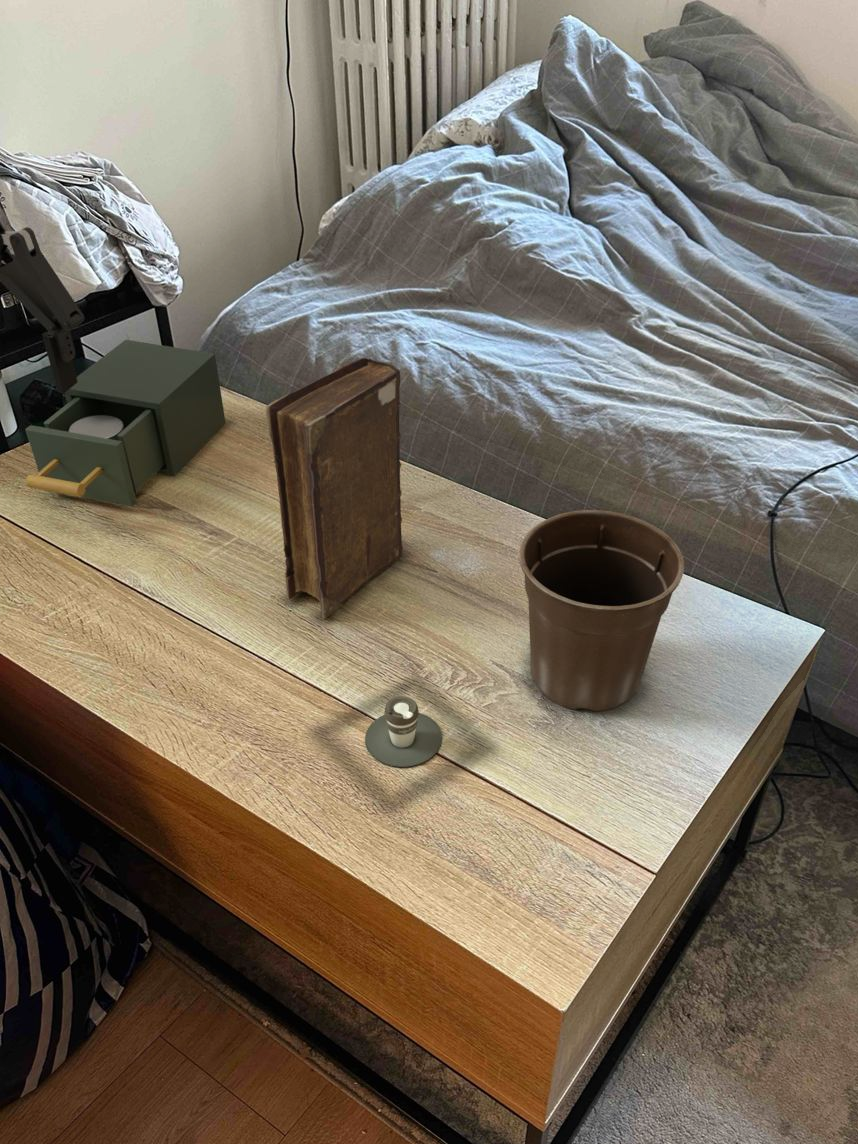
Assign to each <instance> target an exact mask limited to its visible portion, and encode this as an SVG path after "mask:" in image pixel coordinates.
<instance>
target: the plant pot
mask: <svg viewBox="0 0 858 1144" xmlns="http://www.w3.org/2000/svg"><path fill="white" fill-rule="evenodd" d="M518 553H519V554H518V559H519V560H518V561H519V564H520V569H521V570H522V573H523V574H524V589H525V594H526V596H527V598H528V616H529V617H528V621H529V623H528V624H529V625H528V626H529V653H530V655H529V657H530V660H529V664H530V675H531V678H532V681H533V683H534V684H535V686H536V687H537V689H538V690H539V691H540V692H541V693H542V694H543V695H544V696H545V697H546V698H548V699H549V700H551V701H552V702H554V703H556V704H557V705H559V706H561V707H564V708H567V709H571V710H574V711H575V710H579V709H585V710H590V711H592V712H602V711H607V710H612V709H614V708H617V707H619V706H621V705H623V704H624V703H626V702H628V701H629V700H631V698H632V697H634V696H635V695H636V693H637V691H638V689H639V688H640V686H641V683H642V679H643V676H644V673H645V669H646V666H647V664H648V660H649V656H650V653H651V650H652V647H653V643H654V640H655V638H656V634H657V631H658V629H659V625H660V622H661V619H662V616H663V615H664V613H665V612H666V611H667V609H668V607H669V605H670V602H671V598H672V595H673V592H675V590H677V588H678V587H679V585H680V583H681V581H682V578H683V576H684V572H685V561H684V560H685V559H684V557H683V554H682V552H681V550H680V548H679V546H678V545H677V544H676V542H675V541H674V540H673V539H672V538H671V537H670V536H669V535H668V534H667V533H666V532H665V531H663V530H662V529H661V528H658V527H657V526H655V525H653V524H651V523H649V522H647V521H645V520H643V519H641V518H638V517H635V516H631V515H628V514H623V513H621V512H615V511H609V510H600V509H582V510H574V511H568V512H564V513H560V514H557V515H554V516H551V517H549V518H545V520H542V521H541V522H539V523H537V524H536V525H534V526H533V527H532V528H530V530H529V531H528V532H527V533H526V534H525V536H524V537H523V539H522V541H521V543H520V546H519V551H518Z"/></svg>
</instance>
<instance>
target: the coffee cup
mask: <svg viewBox="0 0 858 1144" xmlns="http://www.w3.org/2000/svg"><path fill="white" fill-rule="evenodd" d="M364 742H365V746H366V749H367V751H368V752H369V754H370V755H371V756H372V757H373V758H375V760H377V762H379V763H381V764H384V765H386V766H390V767H395V768H407V767H414V766H417V765H421V764H423V763H425V762H428V761H429V760H431V759H432V758H433V757H434V756H435V755H436V754H437V753H438V751H440V748H441V745H442V742H443V733H442V730H441V728H440V726H439V725H438V723H437V722H436V721H435V720H434V719H433V718H431V717H430V716H429V715H427V714H424V713H422V712H419V707H418V703H417V702H416V701H415V700H414V698H411V697H409V696H405V695H399V696H394V697H392V698H391V699H389V700H388V701H387V702H386V704H385V706H384V712H383V715H381V716H379V717H378V718H376V719H375V720H374V721H373V722H371V724H370V725H369V727H368V728H367V730H366V733H365V737H364Z"/></svg>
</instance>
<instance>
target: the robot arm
mask: <svg viewBox="0 0 858 1144" xmlns="http://www.w3.org/2000/svg"><path fill="white" fill-rule="evenodd" d="M8 247H9V248H8ZM2 262H3V263H4V264H5V265H3V266H1V265H2ZM0 283H1V284H2V285H3V286H4V287H5V288H6V289H7V290H8V291H9V292H10V293H11V295H13V296H14V297H15V298H16V299H17V301H19V302H20V303H21V304H22V306H24V308H25V309H26V310H27V311H28V312H29V313H30V314H31V315H32V316H33V317H34V318H35V319H36V320H37V322H39V323H40V324H41V325H42V326H43V327H44V328H45V329H46V331H45V332H43V333H42V334H41V336H42V341H43V344H44V348H45V351H46V354H47V358H48V361H49V365H50V369H51V373H52V376H53V379H54V383H55V386H56V390H57V393H60V394H64V393H65V392H66V391H68V390H69V389H70V388H71V387H73V386H74V385H75V384H76V383H78V382H77V378H76V377H77V375H76V372H75V367H74V364H73V359H75V357H76V350H75V345H74V341H73V338H72V337H73V336H72V334H71V331H72V330H73V329H75V328H76V327H78V326H79V325H80V324H82V323H83V322H84V321H85V319H86V318H85V315H84V313H83V311H82V310H81V309H80V307H79V305H78V304H77V303H76V302H75V300H74V298H73V297H72V296H71V294H70V293H69V291H68V289H67V288H66V286H65V285H64V283H63V282H62V280H61V279H60V278H59V276H58V274H57V273H56V272H55V270H54V268H53V267H52V265H51V264H50V263H49V261H48V260H47V258H46V256H45V255H44V253H43V251H41V248H40V245H39V242H38V239H37V236H36V234H35V232H34V230H33V229H32V228H31V227H28V226H26V227H23V228H21V229H19V230H7V229H6V227H4V225H3V224H2V221H1V220H0Z"/></svg>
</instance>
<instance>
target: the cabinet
mask: <svg viewBox="0 0 858 1144" xmlns="http://www.w3.org/2000/svg"><path fill="white" fill-rule="evenodd" d="M76 378H77V382H78V383H76V384H75V385H74V386H73V387H71V388H70V389H69V390H68V391H66V392H65V393H63V394H64V396H65V400H66V405H67V404H68V403H69V402H70V401H72V400H73V399H74V398H75V397H77V396H80V397H86V398H92V399H98V400H104V401H110V402H115V403H121V404H127V405H133V406H139V407H145V408H151V409H155V414H156V419H157V424H158V428H159V433H160V438H161V443H162V447H163V452H164V457H165V461H166V464H165V465H164V466H163V467H162V468H161V469H160V470H159V471H158V472H157V473H156V474H158V475H163V476H168V477H175V476H176V475H178V473H180V471H181V470H182V469H183V468H185V466H186V465H187V464H188V463H189V462H190V461H191V460H192V459H193V458H194V457H195V456H196V455H197V454H198V453H199V452H200V450H202V448H203V447H204V446H205V445H206V444H208V443H209V441H210V440H212V438H214V436H216V434H217V433H218V432H219V431H220V430H221V429H222V428H223V427H224V426H225V425H226V423H227V422H226V415H225V409H224V408H225V407H224V403H223V397H222V390H221V385H220V377H219V372H218V366H217V359H216V353H212V352H207V351H199V350H193V349H188V348H183V347H182V348H181V347H174V346H169V345H161V344H156V343H150V342H144V341H138V340H130V339H124V340H123V341H122V342H120V343H119V344H117V346H115V347H114V348H113V349H111V350H110V351H109V352H107V353H106V354H105V355H103V356H102V357H101V358H99V359H98V360H97V361H96V362H94V363H92V364H91V365H90V366H89V367H88V368H86V369H85V370H84V371H83V372H81V373H80V374H78V375H76Z"/></svg>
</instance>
